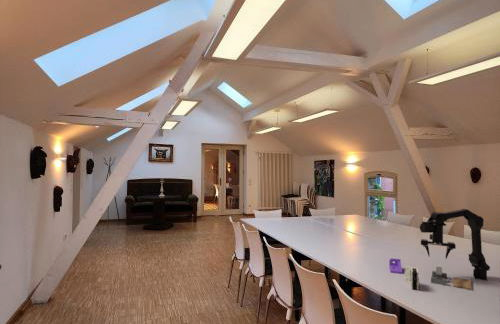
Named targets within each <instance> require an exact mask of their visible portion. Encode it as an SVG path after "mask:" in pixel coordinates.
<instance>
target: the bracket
mask: <svg viewBox="0 0 500 324" xmlns="http://www.w3.org/2000/svg"><path fill="white" fill-rule="evenodd" d="M388 267H389V268H388V269H389V270H390V271H389V273H391V274H399V275H403V269H402V262H401V258H393V257H391V258H389V265H388Z"/></svg>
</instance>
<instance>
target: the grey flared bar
mask: <svg viewBox="0 0 500 324" xmlns="http://www.w3.org/2000/svg"><path fill="white" fill-rule="evenodd" d="M435 271H436V278H441V279H443V278H442V273H443V267H441V266H436V267H435Z"/></svg>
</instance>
